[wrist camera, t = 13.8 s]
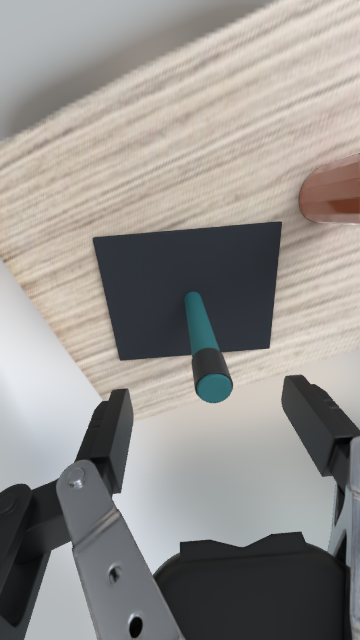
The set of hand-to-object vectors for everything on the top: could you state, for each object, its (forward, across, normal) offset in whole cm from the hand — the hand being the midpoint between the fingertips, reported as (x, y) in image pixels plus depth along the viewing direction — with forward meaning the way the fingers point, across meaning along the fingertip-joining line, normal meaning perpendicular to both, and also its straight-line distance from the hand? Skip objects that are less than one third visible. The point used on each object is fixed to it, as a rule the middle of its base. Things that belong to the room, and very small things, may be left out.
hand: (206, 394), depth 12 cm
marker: (+7, 0, 0) cm, 7 cm away
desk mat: (+15, 0, 0) cm, 15 cm away
